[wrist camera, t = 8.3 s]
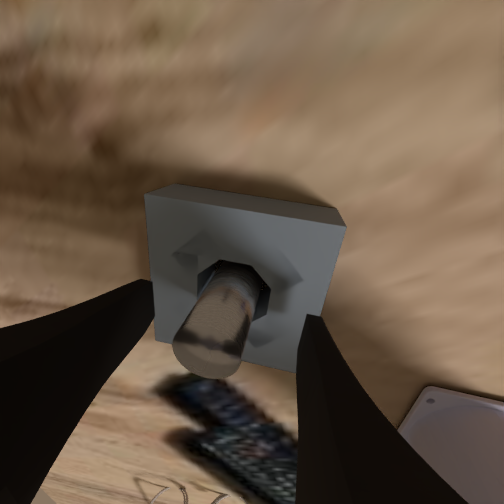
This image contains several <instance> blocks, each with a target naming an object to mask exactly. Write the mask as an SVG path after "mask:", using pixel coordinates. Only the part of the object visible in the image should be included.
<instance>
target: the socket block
mask: <svg viewBox="0 0 504 504" xmlns="http://www.w3.org/2000/svg"><path fill="white" fill-rule="evenodd" d="M144 198H145V211H146V224H147V237H148V250H149V263H150V276H151V281H153V293H154V307H155V317H154V328H155V340H156V341H160V342H164V343H169V344H172V343H173V338H174V336H175V334H176V333H177V331H178V330H179V328H180V327H181V325H182V324H183V322H184V321H185V319H186V317H187V316H188V314H189V313H190V311H191V310H192V308H193V307H194V305H195V304H196V302H197V300H198V299H199V297H200V296H201V294H202V293H203V291H204V290H205V288H206V287H207V285H208V284H209V282H210V280H211V279H212V277H213V276H214V274H215V262H216V261H218V260H219V259H221V260H226V261H231V262H237V263H242V264H247V265H252V266H253V268H254V269H255V270H256V271H257V273H258V274H259V275H260V276H261V277H262V279H263V280H264V281H265V282H266V284H267V285H268V287H266V288H265V289H263V290H261V291H260V293H259V297H258V301H257V304H256V308H255V312H254V315H253V319H252V323H251V326H250V330H249V334H248V337H247V341H246V345H245V348H244V352H243V356H242V359H241V361H245V362H250V363H254V364H258V365H262V366H267V367H271V368H275V369H279V370H284V371H288V372H292V373H296V363H297V349H298V345H299V341H300V337H301V333H302V330H303V326H304V322H305V318H306V315H307V314H311V315H316V316H320V314H321V311H322V308H323V304H324V301H325V298H326V294H327V291H328V288H329V284H330V281H331V278H332V274H333V271H334V268H335V264H336V261H337V258H338V254H339V251H340V248H341V244H342V241H343V238H344V234H345V231H346V228H347V227H346V225H345V223H344V221H343V219H342V217H341V215H340V214H339V212H338V210H337V209H335V208H329V207H322V206H316V205H309V204H303V203H296V202H290V201H284V200H277V199H271V198H264V197H258V196H251V195H245V194H239V193H232V192H226V191H219V190H213V189H206V188H200V187H194V186H187V185H181V184H172V185H169V186H166V187H163V188H160V189H157V190H154V191H151V192H148V193H145V194H144Z"/></svg>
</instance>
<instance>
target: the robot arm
mask: <svg viewBox="0 0 504 504" xmlns="http://www.w3.org/2000/svg"><path fill="white" fill-rule="evenodd" d="M154 317H155V307H154V293H153V281H148V280H143V279H139V280H136V281H134V282H131V283H128V284H126V285H124V286H121V287H119V288H117V289H114V290H112V291H109V292H107V293H105V294H102V295H100V296H98V297H95V298H93V299H90V300H88V301H85V302H82V303H80V304H77V305H75V306H72V307H69V308H67V309H64V310H61V311H58V312H55V313H52V314H49V315H46V316H43V317H40V318H36V319H33V320H30V321H26V322H22V323H19V324H15V325H11V326H7V327H3V328H0V504H31V502H32V500H33V499H34V497H35V495H36V493H37V491H38V490H39V488H40V486H41V484H42V483H43V481H44V479H45V477H46V476H47V474H48V472H49V470H50V468H51V467H52V465H53V463H54V462H55V460H56V458H57V457H58V455H59V453H60V452H61V450H62V448H63V447H64V445H65V443H66V442H67V440H68V438H69V437H70V435H71V433H72V432H73V430H74V429H75V427H76V426H77V424H78V422H79V421H80V419H81V418H82V416H83V415H84V413H85V411H86V410H87V408H88V407H89V405H90V404H91V402H92V401H93V399H94V398H95V396H96V395H97V393H98V392H99V391H100V389H101V388H102V386H103V385H104V383H105V382H106V381H107V380H108V378H109V377H110V376H111V374H112V373H113V372H114V371H115V369H116V368H117V367H118V366H119V365H120V363H121V362H122V361H123V360H124V358H125V357H126V356H127V355H128V354H129V352H130V351H131V350H132V349H133V347H134V346H135V345H136V344H137V342H138V341H139V340H140V339H141V337H142V336H143V335H144V333H145V332H146V330H147V329H148V327H149V325H150V324H151V322H152V320H153V319H154ZM296 384H297V408H298V460H297V480H296V500H295V504H504V402H501V401H496V400H492V399H487V398H483V397H478V396H474V395H470V394H465V393H461V392H456V391H452V390H448V389H443V388H439V387H434V386H428V387H426V388H424V389H423V391H422V392H421V394H420V396H419V397H418V399H417V400H416V402H415V403H414V405H413V406H412V408H411V410H410V411H409V413H408V414H407V416H406V417H405V419H404V421H403V422H402V424H401V425H400V427H399V428H398V430H396V429H395V427H394V426H393V425H392V424H391V423H390V422H389V421H388V419H387V418H386V417H385V416H384V415H383V413H382V412H381V411H380V410H379V409H378V407H377V406H376V405H375V403H374V402H373V401H372V399H371V398H370V397H369V396H368V394H367V393H366V391H365V390H364V389H363V387H362V386H361V384H360V383H359V382H358V380H357V379H356V377H355V376H354V374H353V372H352V371H351V369H350V368H349V366H348V365H347V363H346V361H345V360H344V358H343V356H342V355H341V353H340V351H339V349H338V348H337V346H336V344H335V342H334V341H333V339H332V337H331V335H330V333H329V331H328V329H327V327H326V325H325V323H324V321H323V319H322V317H321V316H316V315H311V314H307V315H306V318H305V322H304V326H303V330H302V333H301V337H300V341H299V345H298V349H297V363H296Z"/></svg>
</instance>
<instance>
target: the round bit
mask: <svg viewBox="0 0 504 504" xmlns="http://www.w3.org/2000/svg"><path fill="white" fill-rule="evenodd" d="M262 282H263V279H262V277H261V276H260V275H259V274H258V273H257V271H256V270H255V269H254V268H253V266H252V265H247V264H242V263H237V262H231V261H226V260H223V262H222V264H221V265H220V267H219V268H218V270H217V271H216V273H215V274H214V276H213V277H212V279H211V280H210V282H209V284H208V285H207V287H206V288H205V290H204V291H203V293H202V294H201V296H200V297H199V299H198V300H197V302H196V304H195V305H194V307H193V308H192V310H191V311H190V313H189V314H188V316H187V317H186V319H185V321H184V322H183V324H182V325H181V327H180V328H179V330H178V331H177V333H176V334H175V336H174V338H173V343H172V347H173V351H174V354H175V356H176V358H177V359H178V361H179V362H180V363H181V364H182V365H183V366H184V367H185V368H186V369H188V370H189V371H191V372H192V373H194V374H196V375H199V376H202V377H205V378H210V379H221V378H226V377H228V376H231V375H232V374H234V373H235V372H236V371H237V370H238V368H239V366H240V363H241V359H242V356H243V352H244V348H245V345H246V341H247V337H248V334H249V330H250V326H251V323H252V319H253V315H254V312H255V308H256V304H257V301H258V297H259V293H260V290H261V286H262Z"/></svg>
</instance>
